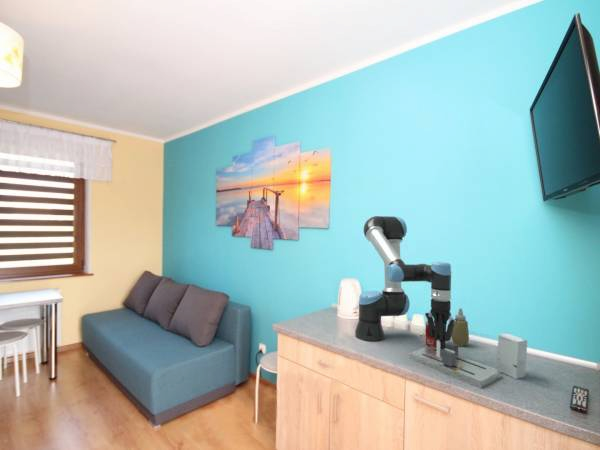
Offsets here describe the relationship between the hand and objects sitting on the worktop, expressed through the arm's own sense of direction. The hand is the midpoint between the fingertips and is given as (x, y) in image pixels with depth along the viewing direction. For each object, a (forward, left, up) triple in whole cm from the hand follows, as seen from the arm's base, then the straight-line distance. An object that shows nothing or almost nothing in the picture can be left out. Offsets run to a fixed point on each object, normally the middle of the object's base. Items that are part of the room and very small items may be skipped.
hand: (439, 356), depth 127 cm
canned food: (-15, +21, -5) cm, 26 cm away
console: (+3, +5, -5) cm, 7 cm away
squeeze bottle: (-9, +34, -5) cm, 35 cm away
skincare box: (+19, +20, -5) cm, 28 cm away
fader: (+4, 0, -2) cm, 4 cm away
